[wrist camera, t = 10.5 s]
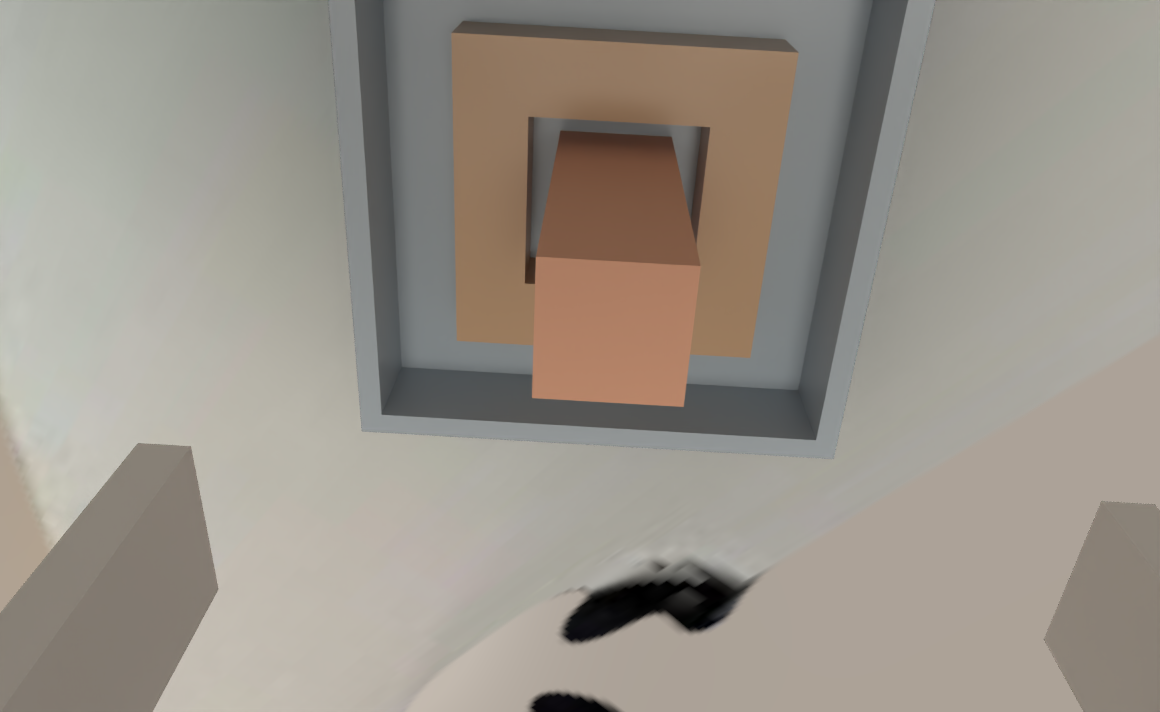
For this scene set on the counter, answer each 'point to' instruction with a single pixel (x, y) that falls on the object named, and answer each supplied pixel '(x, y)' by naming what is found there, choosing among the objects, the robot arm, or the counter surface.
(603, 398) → the peg
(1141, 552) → the robot arm
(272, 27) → the counter surface
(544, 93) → the tray box
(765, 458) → the counter surface
